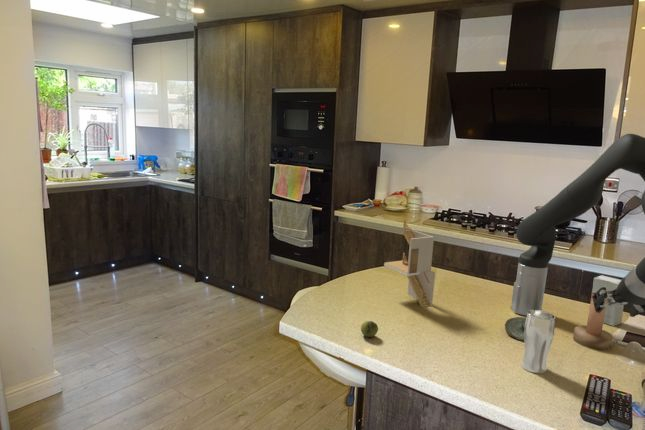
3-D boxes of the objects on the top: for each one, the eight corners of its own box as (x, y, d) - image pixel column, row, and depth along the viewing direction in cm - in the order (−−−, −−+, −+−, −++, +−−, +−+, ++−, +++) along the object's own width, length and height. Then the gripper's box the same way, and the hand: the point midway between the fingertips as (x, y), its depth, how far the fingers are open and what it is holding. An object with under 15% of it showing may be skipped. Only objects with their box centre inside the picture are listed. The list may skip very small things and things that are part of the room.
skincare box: (621, 323, 154) (629, 281, 151) (612, 327, 151) (620, 283, 148) (595, 314, 161) (602, 274, 158) (586, 317, 158) (593, 276, 155)
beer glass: (514, 361, 124) (521, 308, 121) (538, 361, 125) (546, 309, 122) (527, 374, 117) (535, 319, 114) (553, 374, 118) (562, 319, 115)
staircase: (410, 311, 157) (417, 228, 151) (381, 295, 171) (387, 219, 165) (432, 307, 161) (439, 226, 156) (402, 291, 175) (409, 217, 170)
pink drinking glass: (588, 335, 136) (594, 296, 134) (583, 329, 140) (589, 291, 138) (604, 336, 135) (610, 298, 133) (598, 330, 139) (604, 293, 137)
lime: (358, 335, 135) (359, 319, 134) (371, 332, 137) (372, 316, 136) (367, 341, 131) (368, 325, 130) (380, 338, 134) (381, 322, 133)
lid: (541, 333, 143) (543, 318, 142) (540, 345, 134) (542, 329, 133) (505, 325, 148) (507, 310, 147) (502, 336, 139) (504, 321, 138)
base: (579, 347, 134) (581, 337, 134) (568, 333, 144) (569, 324, 143) (617, 351, 133) (618, 342, 132) (602, 337, 142) (604, 328, 142)
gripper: (670, 273, 113) (639, 302, 126) (608, 267, 116) (583, 295, 129) (678, 301, 109) (645, 328, 122) (613, 293, 112) (587, 320, 124)
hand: (613, 311), depth 125 cm, fingers open, 8 cm apart
